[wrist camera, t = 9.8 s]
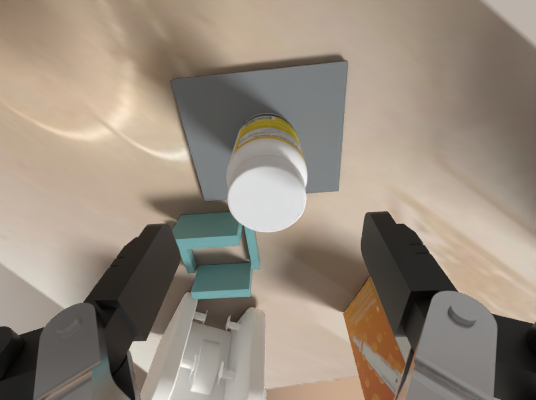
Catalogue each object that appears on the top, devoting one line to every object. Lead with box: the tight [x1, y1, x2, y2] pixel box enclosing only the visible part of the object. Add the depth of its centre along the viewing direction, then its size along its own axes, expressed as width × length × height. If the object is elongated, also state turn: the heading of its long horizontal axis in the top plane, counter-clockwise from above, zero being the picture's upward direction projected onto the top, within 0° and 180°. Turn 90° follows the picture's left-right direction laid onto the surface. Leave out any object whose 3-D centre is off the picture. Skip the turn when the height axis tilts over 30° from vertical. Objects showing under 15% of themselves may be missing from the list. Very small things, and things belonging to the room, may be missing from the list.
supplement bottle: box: [226, 113, 307, 232], centre depth 16 cm, size 5×5×8 cm
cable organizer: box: [140, 292, 267, 400], centre depth 29 cm, size 15×11×12 cm
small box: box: [343, 276, 411, 400], centre depth 26 cm, size 8×6×13 cm
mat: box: [170, 61, 348, 201], centre depth 19 cm, size 12×10×1 cm
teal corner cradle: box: [172, 212, 260, 299], centre depth 25 cm, size 8×8×4 cm
